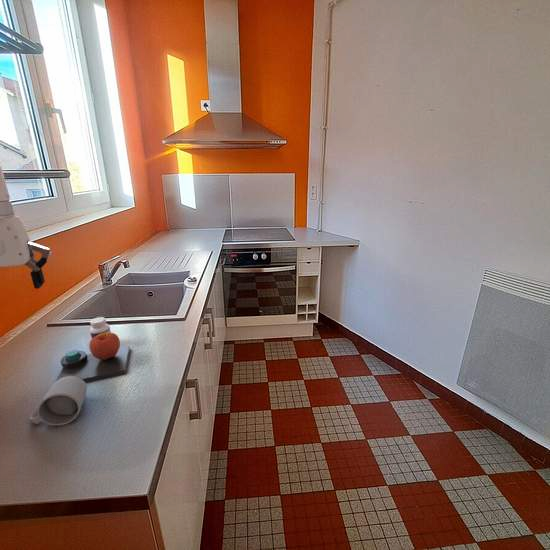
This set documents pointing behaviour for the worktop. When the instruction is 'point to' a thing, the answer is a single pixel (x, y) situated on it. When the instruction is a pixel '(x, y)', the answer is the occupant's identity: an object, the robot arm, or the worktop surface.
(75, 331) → the worktop surface
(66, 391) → the ceramic mug
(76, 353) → the tare button
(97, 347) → the apple
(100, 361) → the scale
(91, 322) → the pill bottle
